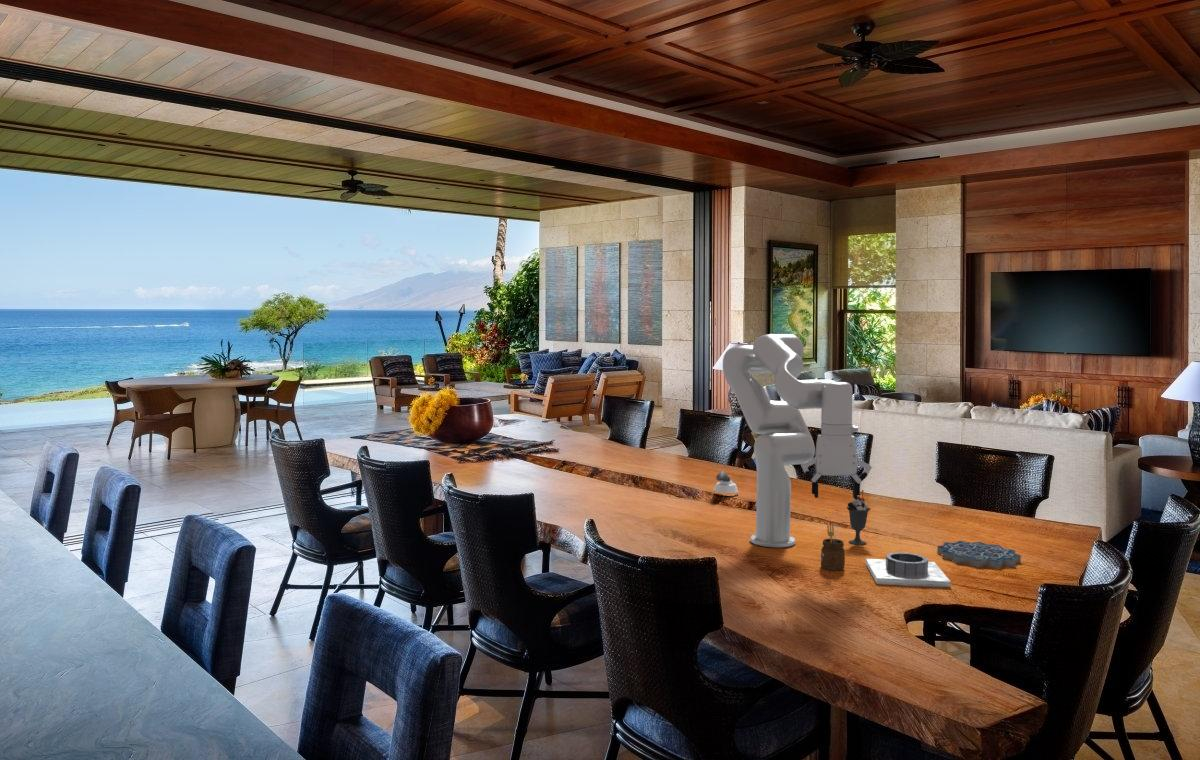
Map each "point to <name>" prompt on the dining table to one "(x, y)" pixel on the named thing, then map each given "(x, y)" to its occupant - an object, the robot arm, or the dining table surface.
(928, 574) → the collar stand
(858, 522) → the sundae
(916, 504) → the dining table surface
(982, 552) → the decorative tile
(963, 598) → the dining table surface
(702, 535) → the dining table surface
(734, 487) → the inkwell
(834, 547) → the utensil holder
